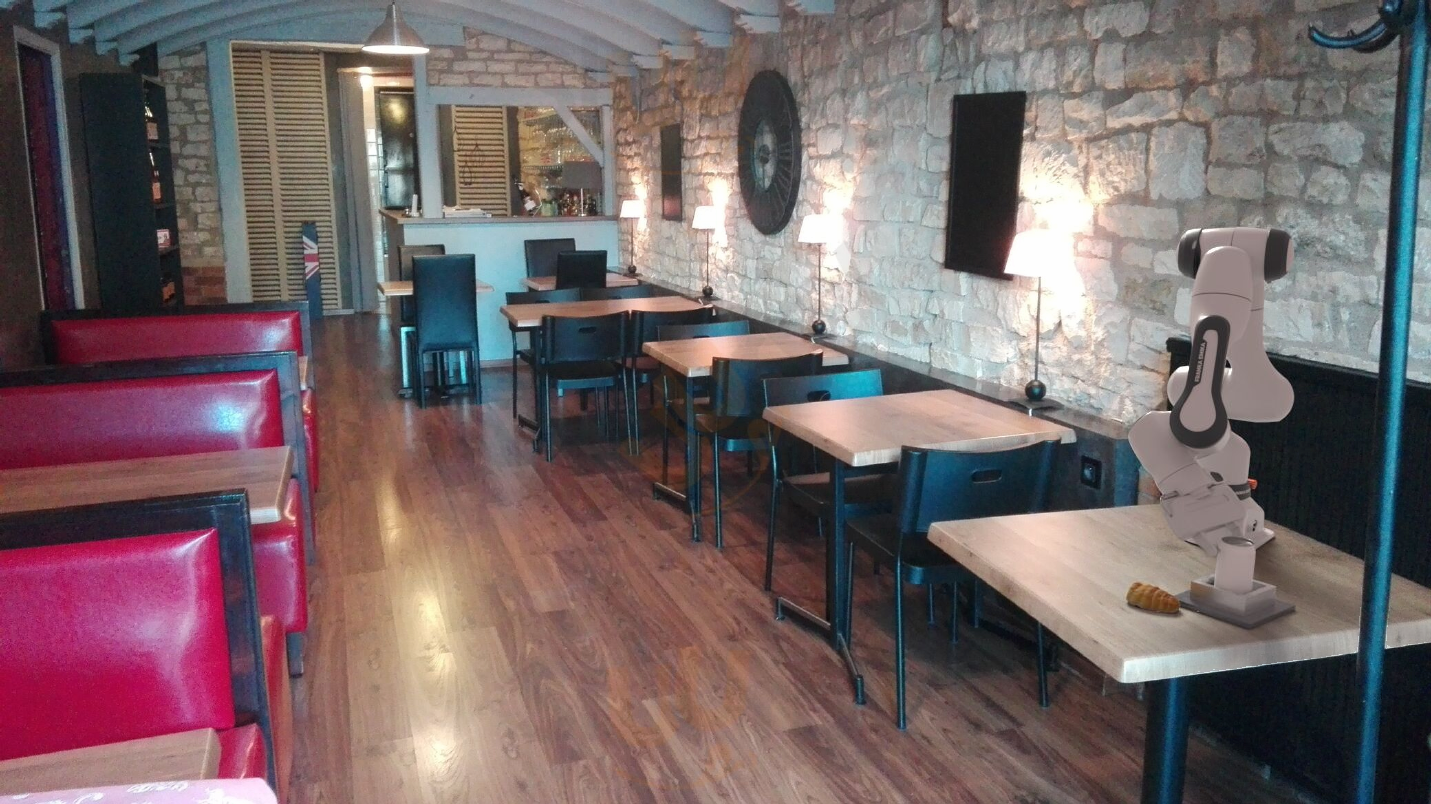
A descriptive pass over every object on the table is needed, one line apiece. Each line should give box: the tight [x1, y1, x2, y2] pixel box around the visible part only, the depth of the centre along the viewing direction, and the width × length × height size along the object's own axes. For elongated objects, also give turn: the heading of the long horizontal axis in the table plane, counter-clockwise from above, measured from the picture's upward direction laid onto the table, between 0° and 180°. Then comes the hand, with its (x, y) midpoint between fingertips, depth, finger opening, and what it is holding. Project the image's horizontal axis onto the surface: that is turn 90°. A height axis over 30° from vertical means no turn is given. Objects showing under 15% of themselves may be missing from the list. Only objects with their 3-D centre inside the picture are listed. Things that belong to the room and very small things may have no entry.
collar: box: [1173, 572, 1296, 630], centre depth 212 cm, size 16×16×4 cm
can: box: [1214, 536, 1256, 595], centre depth 211 cm, size 6×6×12 cm
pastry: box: [1125, 581, 1182, 614], centre depth 212 cm, size 9×7×4 cm
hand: (1229, 549), depth 211 cm, fingers open, 8 cm apart
